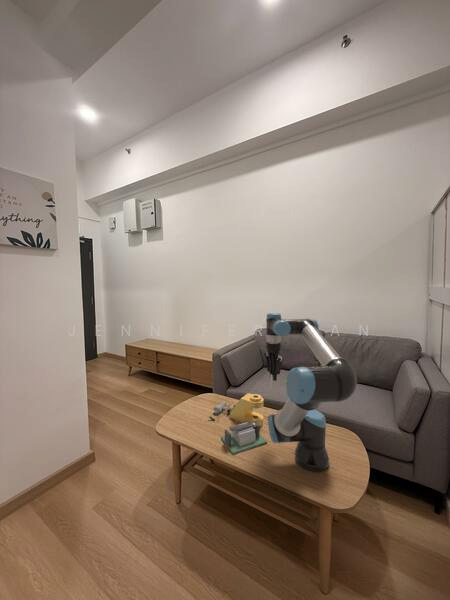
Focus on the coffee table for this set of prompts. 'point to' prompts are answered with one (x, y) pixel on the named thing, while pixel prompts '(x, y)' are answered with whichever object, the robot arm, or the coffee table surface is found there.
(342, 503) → the coffee table surface
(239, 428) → the strap
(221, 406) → the clip-on lamp
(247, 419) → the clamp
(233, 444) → the heatsink base
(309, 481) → the coffee table surface
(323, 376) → the robot arm
